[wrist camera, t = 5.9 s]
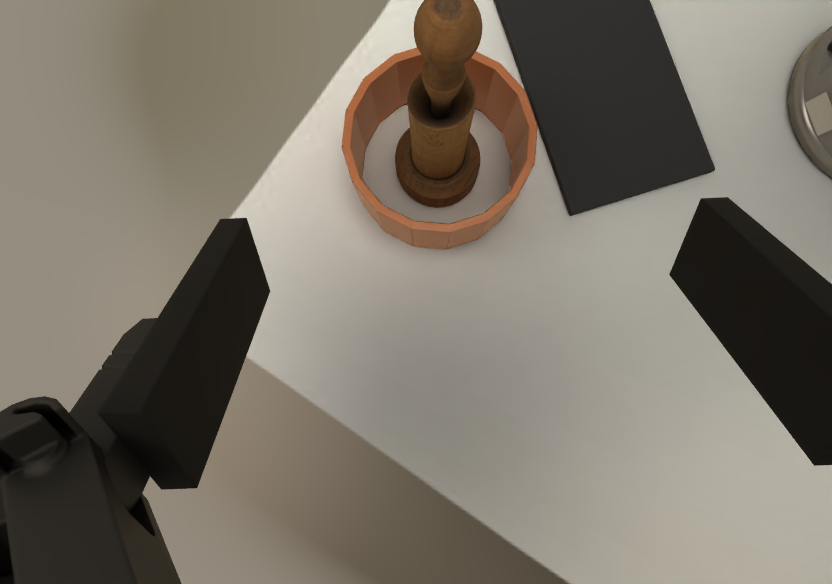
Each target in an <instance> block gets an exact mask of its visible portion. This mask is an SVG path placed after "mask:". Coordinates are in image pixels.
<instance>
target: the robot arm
mask: <svg viewBox="0 0 832 584" xmlns="http://www.w3.org/2000/svg"><path fill="white" fill-rule="evenodd" d="M789 111H790V117H791V121H792V125H793V128H794V131H795V133H796V135H797V138H798V140H799V142H800V143H801V145H802V147H803V148H804V150H805V151H806V153H807V154H808V155H809V157H810V158H811V159H812V160H813V161H814V163H815V164H816V165H817V166H818V167H819V168H820V169H822V170H823V171H824V172H825V173H826V174H828V175H829V176H830V177H832V27H830V28H829V29H828V30H826V31H825V32H824V33H822V34H821V35H820V36H818V37H817V38H816V39H815V40H814V41H813V42H812V43H811V44H810V45H809V46H808V47H807V48H806V49H805V51H804V52H803V54H802V55H801V57H800V58H799V60H798V62H797V64H796V66H795V69H794V71H793V74H792V77H791V81H790V87H789ZM669 275H670V276H671V277H672V279H673V280H674V281H675V283H676V284H677V285H678V287H679V288H680V289H681V291H682V292H683V293H684V295H685V296H686V297H687V299H688V300H689V301H690V302H691V304H692V305H693V306H694V308H695V309H696V310H697V312H698V313H699V314H700V316H701V317H702V318H703V320H704V321H705V322H706V324H707V325H708V326H709V327H710V329H711V330H712V331H713V333H714V334H715V335H716V337H717V338H718V339H719V341H720V342H721V343H722V345H723V346H724V347H725V349H726V350H727V351H728V353H729V354H730V355H731V356H732V358H733V359H734V360H735V362H736V363H737V364H738V366H739V367H740V368H741V370H742V371H743V372H744V374H745V375H746V376H747V378H748V379H749V380H750V381H751V383H752V384H753V385H754V387H755V388H756V389H757V391H758V392H759V393H760V395H761V396H762V397H763V399H764V400H765V401H766V403H767V404H768V405H769V407H770V408H771V409H772V410H773V412H774V413H775V414H776V416H777V417H778V418H779V420H780V421H781V422H782V424H783V425H784V426H785V428H786V429H787V430H788V432H789V433H790V434H791V435H792V437H793V438H794V439H795V441H796V442H797V443H798V445H799V446H800V447H801V449H802V450H803V451H804V453H805V454H806V455H807V457H808V458H809V459H810V460H811V462H812V463H813V464H814V465H832V284H831V283H829V282H828V281H827V280H826V279H825V278H823V277H822V276H821V275H820V274H819V273H817V272H816V271H815V270H814V269H813V268H811V267H810V266H809V265H808V264H807V263H805V262H804V261H803V260H802V259H801V258H799V257H798V256H797V255H796V254H795V253H794V252H792V251H791V250H790V249H789V248H788V247H786V246H785V245H784V244H783V243H782V242H780V241H779V240H778V239H777V238H776V237H774V236H773V235H772V234H771V233H770V232H768V231H767V230H766V229H765V228H764V227H763V226H761V225H760V224H759V223H758V222H757V221H755V220H754V219H753V218H752V217H751V216H749V215H748V214H747V213H746V212H745V211H743V210H742V209H741V208H740V207H739V206H737V205H736V204H735V203H734V202H733V201H732V200H730V199H729V198H728V197H725V198H702V199H701V200H700V202H699V204H698V207H697V209H696V212H695V214H694V217H693V219H692V221H691V224H690V226H689V229H688V231H687V233H686V236H685V238H684V241H683V243H682V246H681V248H680V250H679V253H678V255H677V258H676V260H675V262H674V265H673V267H672V270H671V272H670V274H669ZM269 293H270V289H269V286H268V283H267V280H266V277H265V273H264V270H263V267H262V264H261V261H260V258H259V255H258V252H257V249H256V246H255V243H254V239H253V236H252V233H251V230H250V227H249V224H248V221H247V218H235V219H220V221H219V222H218V224H217V225H216V227H215V229H214V230H213V232H212V233H211V235H210V236H209V238H208V239H207V241H206V243H205V244H204V246H203V247H202V249H201V250H200V252H199V254H198V255H197V257H196V258H195V260H194V261H193V263H192V265H191V266H190V268H189V269H188V271H187V273H186V274H185V276H184V277H183V279H182V280H181V282H180V284H179V285H178V287H177V288H176V290H175V292H174V293H173V295H172V296H171V298H170V299H169V301H168V302H167V304H166V306H165V307H164V309H163V310H162V312H161V314H160V315H159V317H158V318H154V319H152V318H151V319H142V320H141V321H139V322H138V323H137V324H136V325H135V326H133V327H132V328H131V329H130V330H129V331H127V332H126V333H125V334H124V335H123V336H122V338H121V339H120V341H119V342H118V344H117V345H116V346H115V348H114V349H113V351H112V355H109V356H108V358H107V360H106V361H105V362H104V364H103V365H102V370H99V371H98V372H97V374H96V375H95V377H94V378H93V380H92V381H91V382H90V384H89V385H88V387H87V388H86V390H85V391H84V393H83V394H82V395H81V397H80V398H79V400H78V401H77V403H76V404H75V406H74V407H73V408H72V410H71V411H70V413H68V412H67V410H66V409H65V408H64V407H63V406H62V405H61V404H60V403H59V402H58V400H57V399H53V398H49V397H37V398H30V399H27V400H24V401H21V402H18V403H16V404H13V405H11V406H9V407H8V408H6V409H4V410H2V411H1V412H0V584H181V582H180V579H179V577H178V574H177V572H176V569H175V567H174V564H173V562H172V559H171V557H170V554H169V552H168V549H167V547H166V544H165V542H164V539H163V537H162V534H161V532H160V529H159V527H158V524H157V522H156V519H155V517H154V514H153V512H152V509H151V507H150V505H149V502H148V500H147V499H146V497H145V496H144V495H143V494H142V492H143V490H144V488H145V486H146V483H147V481H148V479H149V477H150V476H151V478H152V479H153V480H154V481H155V482H156V484H157V485H158V486H159V487H160V488H161V489H186V488H197V487H198V484H199V481H200V479H201V476H202V473H203V471H204V468H205V465H206V462H207V460H208V457H209V454H210V452H211V449H212V446H213V443H214V441H215V438H216V436H217V433H218V430H219V428H220V425H221V422H222V419H223V417H224V414H225V411H226V409H227V406H228V403H229V401H230V398H231V395H232V393H233V390H234V387H235V384H236V382H237V379H238V376H239V374H240V371H241V368H242V365H243V363H244V360H245V358H246V355H247V352H248V350H249V347H250V344H251V341H252V339H253V336H254V333H255V331H256V328H257V325H258V323H259V320H260V317H261V315H262V312H263V309H264V306H265V304H266V301H267V298H268V296H269Z"/></svg>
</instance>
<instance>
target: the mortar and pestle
mask: <svg viewBox="0 0 832 584" xmlns="http://www.w3.org/2000/svg"><path fill="white" fill-rule="evenodd" d="M481 35H482V19H481V15H480V12H479V9H478V7H477V5H476V3H475V2H474V0H424V1H423V3H422V4H421V6H420V7H419V9H418V11H417V14H416V17H415V22H414V37H415V42H416V45H417V48H418V50H419V51H420V53H421V55H422V56H423V57H424V58H425V59H426V61H425V62H424V64H423V67H422V72H421V73H420V74H418V75H417V76H416V78H415V79H414V80H413V82H412V83H411V85H410V88H409V91H408V96H407V103H408V112H409V121H410V128H409V129H408V130H407V131H406V132H405V133H404V134H403V136H402V137H401V139H400V141H399V143H398V145H397V149H396V155H395V162H396V170H397V175H398V179H399V181H400V184H401V185H402V187H403V189H404V190H405V191H406V193H407V194H408V195H409V196H410V197H411V198H413V199H414V200H416V201H417V202H419V203H421V204H423V205H426V206H431V207H445V206H449V205H452V204H454V203H456V202H458V201H460V200H461V199H463V198H464V197H465V196H466V195H467V194H468V193H469V192H470V191H471V189H472V188H473V186H474V184H475V181H476V178H477V175H478V171H479V166H480V152H479V148H478V145H477V143H476V141H475V139H474V137H473V136H472V134H471V133H470V132H469V130H470V126H471V121H472V117H473V113H474V109H475V105H476V99H477V95H476V89H475V86H474V83H473V81H472V80H471V78H470V77H469V76H468V75H467V74H466V70H465V65H464V63H466V62H467V61H468V60H469V59H470V58H471V57H472V56H473V54H474V53H475V52H476V50H477V48H478V46H479V43H480V40H481Z"/></svg>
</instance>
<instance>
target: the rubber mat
mask: <svg viewBox="0 0 832 584" xmlns="http://www.w3.org/2000/svg"><path fill="white" fill-rule="evenodd" d="M494 1H495V4H496V7H497V10H498V13H499V16H500V19H501V21H502V24H503V27H504V30H505V33H506V36H507V38H508V41H509V44H510V47H511V50H512V53H513V55H514V58H515V61H516V64H517V67H518V70H519V73H520V75H521V78H522V81H523V84H524V87H525V90H526V92H527V95H528V98H529V101H530V104H531V107H532V109H533V112H534V115H535V118H536V121H537V124H538V126H539V129H540V132H541V135H542V138H543V141H544V144H545V146H546V149H547V152H548V155H549V158H550V161H551V163H552V166H553V169H554V172H555V175H556V178H557V180H558V183H559V186H560V189H561V192H562V195H563V198H564V200H565V203H566V206H567V209H568V212H569V215H570V216H571V215H575V214H578V213H581V212H584V211H587V210H591V209H594V208H597V207H600V206H604V205H607V204H610V203H613V202H616V201H620V200H623V199H626V198H629V197H633V196H636V195H639V194H642V193H645V192H649V191H652V190H655V189H658V188H661V187H665V186H668V185H671V184H674V183H678V182H681V181H684V180H687V179H690V178H694V177H697V176H700V175H703V174H707V173H710V172H712V171H714V170H715V168H714V165H713V162H712V160H711V157H710V155H709V152H708V149H707V147H706V144H705V142H704V139H703V137H702V134H701V131H700V129H699V126H698V124H697V121H696V119H695V116H694V113H693V111H692V108H691V106H690V103H689V101H688V98H687V95H686V93H685V90H684V88H683V85H682V83H681V80H680V77H679V75H678V72H677V70H676V67H675V64H674V62H673V59H672V57H671V54H670V52H669V49H668V46H667V44H666V41H665V39H664V36H663V34H662V31H661V28H660V26H659V23H658V21H657V18H656V16H655V13H654V10H653V8H652V5H651V3H650V0H494Z"/></svg>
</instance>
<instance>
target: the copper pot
mask: <svg viewBox="0 0 832 584" xmlns="http://www.w3.org/2000/svg"><path fill="white" fill-rule="evenodd" d="M425 61H426V59H425V58H424V57H423V56H422V55H421V53H420V51H419V50H418V48H414V49H411V50H408V51H405V52H401V53H398V54H395V55H393V56H391V57H390V58H389V59H388V60H386V61H385V62H384V63H382V64H381V65H380V66H379V67H377V68H376V69H375V70H374V71H372V72H371V73H370V74H369V75H367V76H366V77H365V78H364V79H363V81H362V83H361V84H360V86H359V88H358V90H357V91H356V93H355V95H354V97H353V99H352V100H351V102H350V104H349V106H348V108H347V109H346V113H345V122H344V131H343V140H342V150H343V153H344V156H345V160H346V163H347V166H348V170H349V173H350V176H351V179H352V182H353V184H354V187H355V189H356V191H357V193H358V195H359V197H360V199H361V201H362V203H363V205H364V207H365V209H366V210H367V211H368V212H369V214H370V215H371V216H372V217H373V218H374V220H375V221H376V222H377V223H378V224H379V225H380V227H381V228H382V229H383V230H384V231H385V232H386V233H388V234H390V235H392V236H394V237H396V238H398V239H400V240H402V241H404V242H406V243H408V244H410V245H412V246H415V247H426V248H437V249H448V248H452V247H455V246H458V245H461V244H465V243H468V242H471V241H474V240H477V239H479V238H480V237H481V236H482V235H483V234H485V233H486V232H487V231H488V230H489V229H491V228H492V227H493V226H494V225H495V224H497V223H498V222H499V221H500V220H501V219H502V218H503V217H504V215H505V214H506V212H507V211H508V209H509V208H510V207H511V205H512V204H513V202H514V201H515V199H516V198H517V196H518V195H519V193H520V191H521V189H522V187H523V185H524V183H525V181H526V179H527V177H528V175H529V174H530V172H531V170H532V168H533V166H534V163H535V154H536V140H537V123H536V120H535V117H534V114H533V112H532V109H531V106H530V103H529V100H528V97H527V94H526V92H525V90H524V89H523V88H522V87H521V86H520V85H519V83H518V82H517V81H516V80H515V79H514V78H513V77H512V76H511V75H510V74H509V72H508V71H507V70H506V69H505V68H504V67H503V66H502V65H501V64H500V63H499V62H497V61H494V60H492V59H490V58H488V57H486V56H484V55H482V54H480V53H478V52H475V53H474V54H473V56H472V57H471V58H470V59H469V60H468V61H467V62H466V63H464V65H465V70H466V74H467V75H468V76H469V77H470V78H471V80H472V81H473V83H474V86H475V89H476V95H477V99H476V105H475V108H476V109H478V110H480V111H482V112H484V113H485V115H486V116H487V117H488V118H489V119H490V120H491V121H492V122H493V124H494V125H495V126H496V127H497V128H498V129H499V130H500V131H501V133H502V134H503V137H504V140H505V143H506V146H507V149H508V152H509V155H510V157H511V160H512V161H511V174H510V188H509V190H508V192H507V194H506V195H505V196H504V197H503V198H501V199H500V200H499V201H498V202H497V203H495V204H494V205H493V206H492V207H491V208H489V209H488V210H487V211H486V212H485V213H483V214H480V215H477V216H474V217H470V218H467V219H464V220H461V221H458V222H454V223H451V224H443V223H432V222H420V221H413V220H411V219H409V218H407V217H405V216H403V215H401V214H399V213H397V212H395V211H394V210H392V209H390V208H388V207H386V206H384V205H382V203H381V202H380V201H379V200H378V199H377V198H376V196H375V195H374V194H373V193H372V192H371V190H370V189H369V188H368V187H367V186H366V185H365V183H364V180H363V177H362V176H363V167H364V157H365V148H366V146H367V145H368V143H369V141H370V139H371V137H372V136H373V134H374V132H375V130H376V128H377V126H378V125H379V123H380V122H382V121H383V120H384V119H385V118H387V117H388V116H389V115H390V114H392V113H393V112H394V111H395V110H397V109H398V108H399V107H400V106H402V105H406V104H408V103H407V96H408V91H409V88H410V85H411V83H412V82H413V80H414V79H415V78H416V76H417V75H418V74H420V73H421V72H422V67H423V64H424V62H425Z"/></svg>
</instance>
